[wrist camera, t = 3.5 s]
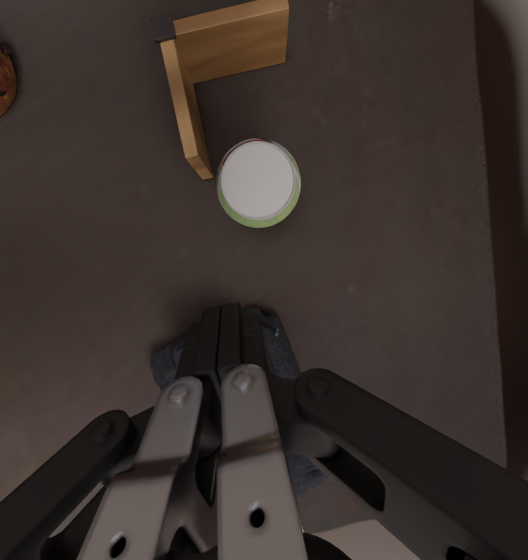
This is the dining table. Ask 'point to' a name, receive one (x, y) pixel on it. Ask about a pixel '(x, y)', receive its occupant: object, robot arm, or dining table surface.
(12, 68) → the bread roll
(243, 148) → the beverage can
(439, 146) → the dining table surface
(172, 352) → the grommeted fabric pouch
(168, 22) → the shelf corner
